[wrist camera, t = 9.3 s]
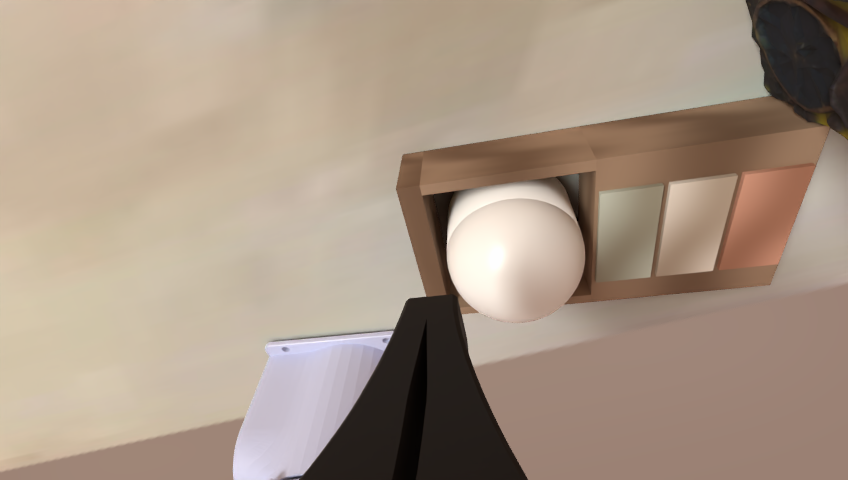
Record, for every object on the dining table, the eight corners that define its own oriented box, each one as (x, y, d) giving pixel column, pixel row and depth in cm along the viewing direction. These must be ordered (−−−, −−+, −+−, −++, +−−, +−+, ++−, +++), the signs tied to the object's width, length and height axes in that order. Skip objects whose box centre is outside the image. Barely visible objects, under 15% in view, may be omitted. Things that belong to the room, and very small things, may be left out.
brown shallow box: (434, 277, 26) (432, 319, 23) (402, 154, 21) (395, 191, 18) (738, 244, 23) (772, 287, 20) (782, 94, 18) (835, 127, 16)
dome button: (457, 266, 24) (458, 356, 20) (438, 172, 21) (432, 255, 16) (569, 253, 23) (598, 345, 19) (569, 152, 20) (604, 235, 15)
